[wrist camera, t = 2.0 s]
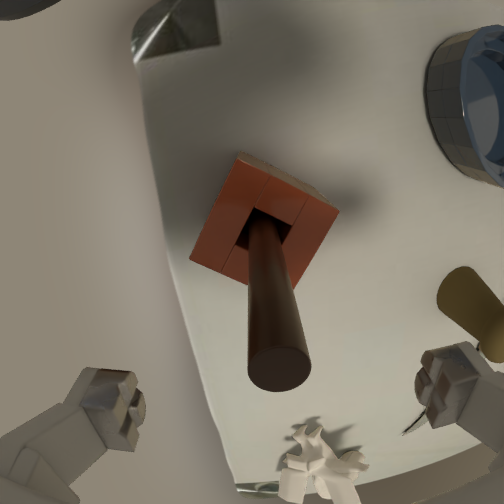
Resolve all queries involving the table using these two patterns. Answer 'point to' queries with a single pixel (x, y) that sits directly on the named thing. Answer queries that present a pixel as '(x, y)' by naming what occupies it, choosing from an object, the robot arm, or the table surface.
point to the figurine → (320, 471)
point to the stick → (272, 313)
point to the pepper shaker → (474, 310)
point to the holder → (271, 202)
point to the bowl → (470, 102)
